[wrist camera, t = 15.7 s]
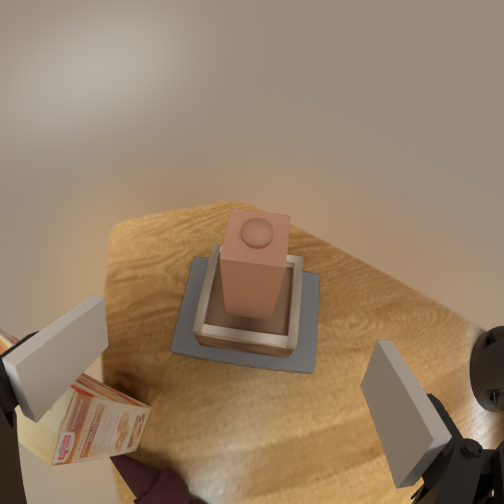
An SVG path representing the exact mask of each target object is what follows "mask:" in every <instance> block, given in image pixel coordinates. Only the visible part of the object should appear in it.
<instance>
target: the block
mask: <svg viewBox="0 0 504 504" xmlns="http://www.w3.org/2000/svg"><path fill="white" fill-rule="evenodd" d="M289 228H290V216H286V215H280V214H273V213H265V212H258V211H251V210H243V209H235V208H231V212H230V216H229V221H228V225H227V229H226V233H225V237H224V242H223V246H222V250H221V255H220V266H221V276H222V285H223V294H224V303H225V311H226V314H231V315H237V316H244V317H251V318H258V319H265V320H271V317H272V314H273V310H274V307H275V304H276V300H277V297H278V294H279V290H280V287H281V284H282V280H283V277H284V273H285V270H286V263H287V252H288V240H289Z"/></svg>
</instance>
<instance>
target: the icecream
mask: <svg viewBox="0 0 504 504" xmlns="http://www.w3.org/2000/svg"><path fill="white" fill-rule="evenodd" d="M110 459H111V460H112V462H113V464H114V465H115V467H116V468H117V470H118V471H119V473H120V475H121V476H122V478H123V479H124V480H125V482H126V483H127V485H128V486H129V488H130V489H131V491H132V492H133V493H134V495H135V496H136V497H137V499H135V500H134V503H135V504H205V503H203V502H201V501H198V500H196V499H192V498H190V493H189V490H188V487H187V485H186V484H185V482H184V480H183V479H182V478H181V477H179V476H178V475H177V474H176V473H174V472H171V468H170V467H167V468H166V470H161V469H158V468H156V467H153V466H151V465H148V464H146V463H143V462H141V461H138V460H136V459H134V458H132V457H129V456H127V455H125V454H121V455H116V456H111V457H110Z"/></svg>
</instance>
